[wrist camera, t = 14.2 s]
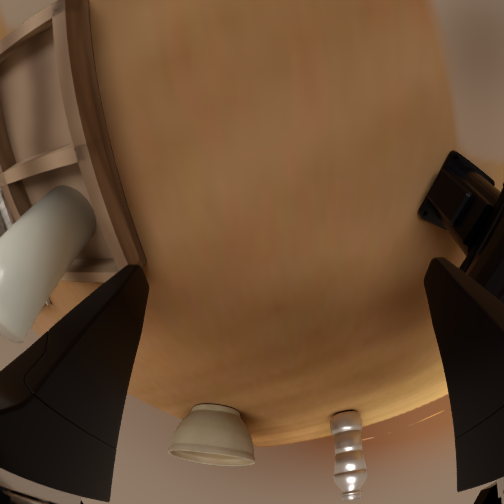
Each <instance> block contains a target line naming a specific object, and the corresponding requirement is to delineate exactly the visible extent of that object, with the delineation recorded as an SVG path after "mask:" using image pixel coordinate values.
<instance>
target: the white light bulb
mask: <svg viewBox="0 0 504 504" xmlns="http://www.w3.org/2000/svg"><path fill="white" fill-rule="evenodd" d="M95 229H96V218H95V214H94V211H93V209H92V207H91V205H90V203H89V202H88V200H87V199H86V198H85V197H84V196H83V195H82V194H81V193H80V192H79V191H78V190H76V189H74V188H72V187H70V186H66V185H60V186H56V187H54V188H53V189H52V190H50V191H49V192H48V193H47V194H46V195H45V196H43V197H42V198H41V199H40V200H39V201H38V202H36V203H35V204H34V205H33V206H32V207H31V208H30V209H29V210H28V211H27V212H25V213H24V214H23V215H22V216H21V217H20V218H19V219H18V220H17V221H16V222H15V223H14V224H13V225H12V226H11V227H10V228H9V229H8V230H7V231H6V232H5V233H4V234H3V235H2V236H1V237H0V335H2V336H4V337H5V338H7V339H8V340H10V341H13V342H16V343H22V342H23V341H24V339H25V337H26V336H27V334H28V332H29V330H30V328H31V327H32V325H33V323H34V321H35V320H36V318H37V316H38V315H39V313H40V311H41V310H42V308H43V306H44V305H45V303H46V302H47V300H48V298H49V297H50V295H51V294H52V292H53V291H54V289H55V287H56V286H57V284H58V283H59V281H60V280H61V279H62V277H63V276H64V274H65V273H66V271H67V270H68V268H69V267H70V266H71V264H72V263H73V261H74V260H75V259H76V257H77V256H78V254H79V253H80V252H81V250H82V249H83V248H84V246H85V245H86V244H87V243H88V241H89V240H90V239H91V237H92V236H93V234H94V232H95Z"/></svg>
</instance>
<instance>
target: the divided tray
mask: <svg viewBox="0 0 504 504" xmlns="http://www.w3.org/2000/svg"><path fill="white" fill-rule="evenodd" d="M60 185H66V186H70V187H72V188H74V189H76V190H78V191H79V192H80V193H81V194H82V195H83V196H84V197H85V198H86V199H87V200H88V202H89V203H90V205H91V207H92V209H93V211H94V214H95V218H96V229H95V232H94V234H93V236H92V237H91V239H90V240H89V241H88V243H87V244H86V245H85V246H84V248H83V249H82V250H81V252H80V253H79V254H78V256H77V257H76V259H75V260H74V261H73V263H72V264H71V266H70V267H69V268H68V270H67V271H66V273H65V274H64V276H63V277H62V279H61V280H60V281H79V282H106V281H107V280H109V279H110V278H111V277H112V276H114V275H115V274H116V273H117V272H119V271H120V270H121V269H122V268H124V267H125V266H126V265H128V264H139V265H140V266H141V267H142V269H143V267H144V265H145V263H146V261H147V260H146V258H145V255H144V252H143V250H142V247H141V244H140V241H139V238H138V236H137V233H136V230H135V227H134V224H133V221H132V218H131V215H130V212H129V209H128V205H127V202H126V199H125V196H124V192H123V189H122V186H121V182H120V179H119V175H118V172H117V168H116V164H115V160H114V157H113V153H112V149H111V145H110V141H109V137H108V132H107V128H106V123H105V119H104V114H103V109H102V104H101V99H100V94H99V88H98V83H97V76H96V70H95V63H94V56H93V48H92V40H91V30H90V18H89V2H88V0H58V1H56V2H55V3H53V4H51V5H50V6H48V7H47V8H45V9H43V10H42V11H40V12H39V13H37V14H36V15H34V16H33V17H32V18H30V19H29V20H27V21H26V22H25V23H23V24H22V25H20V26H19V27H18V28H17V29H15V30H14V31H13V32H11V33H10V34H9V35H8V36H6V37H5V38H4V39H3V40H2V41H0V186H1V188H2V191H3V193H4V196H5V198H6V201H7V203H8V206H9V208H10V211H11V213H12V215H13V217H14V220H15V222H16V221H17V220H18V219H19V218H20V217H21V216H22V215H23V214H24V213H25V212H27V211H28V210H29V209H30V208H31V207H32V206H33V205H34V204H35V203H36V202H38V201H39V200H40V199H41V198H42V197H43V196H45V195H46V194H47V193H48V192H49V191H50V190H52V189H53V188H54V187H56V186H60Z"/></svg>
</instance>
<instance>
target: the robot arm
mask: <svg viewBox="0 0 504 504" xmlns="http://www.w3.org/2000/svg"><path fill="white" fill-rule="evenodd" d="M455 155H456V157H455V159H453V158H454V156H455ZM494 185H495V183H494V181H493V180H492V179H491V178H490V177H489V176H488V175H486V174H485V173H484V172H483V171H481V170H480V169H479V168H478V167H476V166H475V165H474V164H473V163H471V162H470V161H469V160H467V159H466V158H465V157H463V156H462V155H461V154H459V153H458V152H456V151H454V150H453V151H451V152H450V153H449V155H448V157H447V159H446V161H445V163H444V165H443V167H442V169H441V171H440V173H439V175H438V177H437V178H436V180H435V182H434V184H433V186H432V188H431V189H430V191H429V193H428V195H427V196H426V198H425V200H424V202H423V203H422V205H421V207H420V208H419V211H418V213H419V215H420V216H421V218H423V219H425V220H427V221H429V222H431V223H434V224H436V225H438V226H440V227H442V228H444V229H446V230H448V231H449V233H450V234H451V235H452V237H453V238H454V239H455V241H456V242H457V244H458V245H459V246H460V248H461V249H462V251H463V252H464V253H465V255H466V256H467V257H466V258H465V260H464V261H463V263H462V265H461V266H460V268H458V267H456V266H455V265H454V264H452V263H451V262H449V261H448V260H447V259H445V258H442V257H440V258H433V259H432V260H431V262H430V265H429V267H428V270H427V272H426V275H425V277H424V286H425V290H426V295H427V299H428V304H429V309H430V314H431V319H432V323H433V328H434V332H435V335H436V339H437V343H438V347H439V351H440V355H441V359H442V363H443V368H444V372H445V377H446V382H447V387H448V393H449V398H450V404H451V411H452V418H453V426H454V435H455V448H456V461H457V491H458V492H460V491H463V490H467V489H471V488H474V487H477V486H480V485H483V484H486V483H488V482H492V481H494V480H496V482H495V483H493V484H491V485H490V486H488V487H486V488H484V489H483V490H481V492H480V493H479V495H478V497H477V499H476V501H475V502H474V504H504V187H503V189H502V191H501V192H500V191H499V190H498V189H496V188H495V187H494ZM503 186H504V183H503ZM424 211H425V213H423V212H424ZM148 293H149V284H148V281H147V279H146V276H145V274H144V271H143V269H142V267H141V266H140V265H139V264H128V265H126V266H125V267H124V268H122V269H121V270H120V271H119V272H117V273H116V274H115V275H114V276H112V277H111V278H110V279H109V280H107V281H106V282H105V283H104V284H102V285H101V286H100V287H99V288H97V289H96V290H95V291H94V292H92V293H91V294H90V295H89V296H88V297H86V298H85V299H84V300H83V301H82V302H80V303H79V304H78V305H77V306H76V307H75V308H73V309H72V310H71V311H70V312H69V313H67V314H66V315H65V316H64V317H63V318H62V319H61V320H59V321H58V322H57V323H56V324H55V325H54V326H53V327H51V328H50V329H49V331H47V332H46V333H45V334H44V335H43V336H41V337H40V338H39V339H38V340H37V341H36V342H35V343H34V344H32V346H30V347H29V348H28V349H27V350H26V351H24V352H23V353H22V354H21V355H19V356H18V357H17V358H16V359H15V360H13V361H12V362H11V363H10V364H9V365H7V366H6V367H5V368H4V369H3V370H2V371H0V504H83V502H82V501H81V497H85V498H90V499H95V500H100V501H105V502H109V501H110V495H111V485H112V477H113V468H114V462H115V455H116V448H117V442H118V435H119V430H120V425H121V419H122V414H123V409H124V404H125V399H126V395H127V390H128V386H129V381H130V377H131V373H132V369H133V364H134V360H135V356H136V352H137V348H138V345H139V341H140V337H141V333H142V328H143V322H144V316H145V310H146V304H147V298H148Z"/></svg>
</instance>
